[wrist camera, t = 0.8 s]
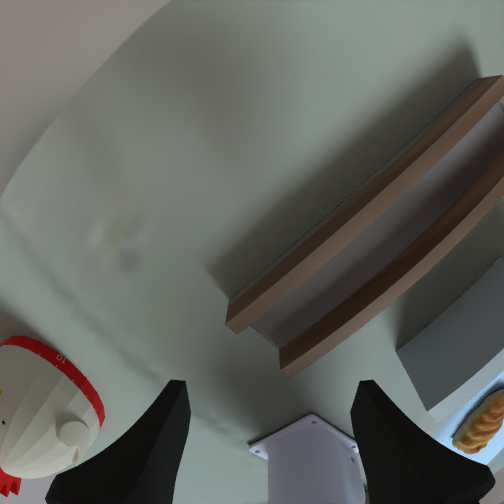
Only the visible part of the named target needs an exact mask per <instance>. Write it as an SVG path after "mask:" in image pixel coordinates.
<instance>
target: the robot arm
mask: <svg viewBox="0 0 504 504" xmlns="http://www.w3.org/2000/svg"><path fill="white" fill-rule="evenodd" d="M350 414H351V421H352V427H353V433H354V437H355V440H356V441H354V440H352V439H351V438H349V437H348V436H346V435H345V434H343V433H341V432H340V431H338V430H337V429H335V428H334V427H332V426H331V425H329V424H328V423H326V422H325V421H323V420H322V419H320V418H319V417H317V416H316V415H314V414H309V415H307V416H306V417H304V418H302V419H300V420H298V421H297V422H295V423H293V424H291V425H289V426H287V427H286V428H284V429H282V430H280V431H278V432H276V433H274V434H272V435H270V436H268V437H266V438H264V439H262V440H260V441H258V442H256V443H254V444H252V445H250V446H249V451H251V452H253V453H255V454H256V455H258V456H260V457H262V458H264V459H266V460H268V504H364V503H365V491H364V486H363V482H362V478H361V473H360V469H359V465H358V461H357V457H356V453H358V452H359V454H360V457H361V460H362V464H363V467H364V471H365V475H366V479H367V485H368V492H369V500H370V504H480V503H479V500H480V499H481V498H483V497H484V496H485V495H486V494H487V493H488V492H489V491H490V490H491V489H492V488H493V486H494V485H495V479H494V477H493V474H492V472H491V470H490V468H489V467H488V466H487V465H484V464H481V463H478V462H476V461H473V460H470V459H468V458H466V457H464V456H462V455H460V454H458V453H456V452H454V451H452V450H450V449H449V448H447V447H445V446H444V445H442V444H440V443H439V442H437V441H436V440H435V439H433V438H432V437H431V436H429V435H428V434H427V433H425V432H424V431H423V430H421V429H420V428H419V427H418V426H417V425H416V424H415V423H413V422H412V421H411V420H410V419H409V418H408V417H407V416H406V415H405V414H404V413H403V412H402V411H401V410H400V409H399V408H398V407H397V406H396V405H395V403H394V402H393V401H392V400H391V399H390V398H389V397H388V396H387V395H386V394H385V392H384V391H383V390H382V389H381V388H380V387H379V386H378V384H377V383H376V382H375V381H374V380H365V381H360V382H359V386H358V389H357V392H356V396H355V399H354V402H353V405H352V408H351V411H350ZM190 417H191V410H190V404H189V398H188V393H187V387H186V381H180V380H170V381H169V382H168V384H167V385H166V386H165V388H164V389H163V391H162V392H161V393H160V395H159V396H158V397H157V398H156V400H155V401H154V402H153V403H152V405H151V406H150V407H149V408H148V409H147V411H146V412H145V413H144V414H143V415H142V416H141V417H140V418H139V419H138V420H137V421H136V422H135V424H134V425H133V426H132V427H131V428H130V429H129V430H127V431H126V432H125V433H124V434H123V435H122V436H121V437H120V438H119V439H117V440H116V441H115V442H114V443H112V444H111V445H110V446H108V447H107V448H106V449H104V450H103V451H101V452H100V453H99V454H97V455H95V456H94V457H92V458H90V459H89V460H87V461H85V462H83V463H82V464H80V465H78V466H76V467H74V468H72V469H69V470H67V471H65V472H63V473H60V474H58V475H56V477H55V479H54V480H53V482H52V484H51V486H50V488H49V491H48V493H47V495H46V498H45V500H46V502H47V504H172V502H173V494H174V487H175V481H176V476H177V472H178V469H179V465H180V461H181V458H182V454H183V450H184V447H185V443H186V439H187V436H188V431H189V424H190ZM499 504H504V501H503V502H501V503H499Z"/></svg>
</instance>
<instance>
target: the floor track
mask: <svg viewBox="0 0 504 504" xmlns="http://www.w3.org/2000/svg"><path fill="white" fill-rule="evenodd" d="M503 95H504V76H503V75H499V76H491V77H484V78H478V79H476V80H475V81H474V82H473V83H472V84H471V85H470V86H469V87H468V88H467V89H466V90H465V91H464V92H463V93H462V94H461V95H459V96H458V97H457V98H456V99H455V100H454V101H453V102H452V103H451V104H450V105H449V106H448V107H447V108H446V109H445V110H444V111H442V112H441V113H440V114H439V115H438V116H437V117H436V118H435V119H434V120H433V121H432V122H431V123H430V124H428V125H427V126H426V127H425V128H424V129H423V130H422V131H421V132H420V133H419V134H418V135H417V136H415V137H414V138H413V139H412V140H411V141H410V142H409V143H408V144H407V145H406V146H405V147H403V148H402V149H401V150H400V151H399V152H398V153H397V154H396V155H395V156H394V157H392V158H391V159H390V160H389V161H388V162H387V163H386V164H385V165H384V166H382V167H381V168H380V169H379V170H378V171H377V172H376V173H375V174H374V175H372V176H371V177H370V178H369V179H368V180H367V181H366V182H365V183H364V184H362V185H361V186H360V187H359V188H358V189H357V190H356V191H355V192H353V193H352V194H351V195H350V196H349V197H348V198H347V199H346V200H344V201H343V202H342V203H341V204H340V205H339V206H338V207H337V208H335V209H334V210H333V211H332V212H331V213H330V214H329V215H327V216H326V217H325V218H324V219H323V220H322V221H321V222H319V223H318V224H317V225H316V226H315V227H314V228H313V229H311V230H310V231H309V232H308V233H307V234H306V235H305V236H303V237H302V238H301V239H300V240H299V241H298V242H297V243H295V244H294V245H293V246H292V247H291V248H290V249H288V250H287V251H286V252H285V253H284V254H283V255H281V256H280V257H279V258H278V259H277V260H276V261H275V262H273V263H272V264H271V265H270V266H269V267H268V268H266V269H265V270H264V271H263V272H262V273H261V274H259V275H258V276H257V277H256V278H255V279H253V280H252V281H251V282H250V283H249V284H248V285H246V286H245V287H244V288H243V289H242V290H241V291H239V292H238V293H237V294H236V295H235V296H233V297H232V298H231V299H230V300H229V304H228V310H227V316H226V322H225V325H226V326H227V327H228V328H230V329H231V330H232V331H233V332H234V333H236V334H239V333H240V332H241V331H242V330H244V329H245V328H246V327H248V326H249V325H250V326H251V327H253V328H254V329H255V330H256V331H257V332H258V333H260V334H261V335H262V336H263V337H264V338H265V339H267V340H268V341H269V342H270V343H271V344H272V345H274V346H275V347H276V348H277V349H278V350H279V357H280V370H281V371H282V372H283V373H285V374H286V375H287V376H289V377H290V378H291V377H292V376H294V375H295V374H297V373H298V372H300V371H301V370H303V369H304V368H306V367H307V366H309V365H310V364H312V363H313V362H315V361H316V360H317V359H319V358H320V357H322V356H323V355H325V354H326V353H327V352H329V351H330V350H332V349H333V348H334V347H336V346H337V345H338V344H340V343H341V342H343V341H344V340H345V339H347V338H348V337H349V336H351V335H352V334H353V333H355V332H356V331H357V330H359V329H360V328H361V327H362V326H364V325H365V324H366V323H368V322H369V321H370V320H371V319H373V318H374V317H375V316H376V315H378V314H379V313H380V312H381V311H383V310H384V309H385V308H386V307H387V306H389V305H390V304H391V303H392V302H394V301H395V300H396V299H397V298H398V297H399V296H401V295H402V294H403V293H404V292H405V291H407V290H408V289H409V288H410V287H411V286H412V285H413V284H415V283H416V282H417V281H418V280H419V279H420V278H421V277H422V276H424V275H425V274H426V273H427V272H428V271H429V270H430V269H431V268H432V267H433V266H435V265H436V264H437V263H438V262H439V261H440V260H441V259H442V258H443V257H444V256H445V255H446V254H447V253H448V252H449V251H450V250H451V249H452V248H453V247H454V246H455V245H456V244H457V243H459V242H460V241H461V240H462V239H463V238H464V237H465V235H466V234H467V233H468V232H469V231H470V230H471V229H472V228H473V227H474V226H475V225H476V224H477V223H478V222H479V221H480V220H481V219H482V218H483V217H484V216H485V215H486V214H487V212H488V211H489V210H490V209H491V208H492V207H493V206H494V205H495V204H496V202H497V201H498V200H499V199H500V198H501V197H502V196H503V195H504V113H503V111H502V109H501V107H500V105H499V103H498V101H499V100H500V99H501V98H502V97H503Z"/></svg>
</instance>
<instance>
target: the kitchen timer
mask: <svg viewBox="0 0 504 504" xmlns="http://www.w3.org/2000/svg"><path fill="white" fill-rule="evenodd" d="M104 419H105V413H104V406H103V404H102V402H101V400H100V397H99V395H98V393H97V392H96V390H95V389H94V388H93V386H92V385H91V384H90V382H89V381H88V380H87V378H86V377H85V376H84V375H83V374H82V373H81V372H80V371H79V370H78V369H77V368H76V367H75V366H74V365H73V364H72V363H71V362H69V361H68V360H67V359H66V358H64V357H63V356H62V355H60V354H59V353H58V352H57V351H55V350H54V349H52V348H50V347H48V346H47V345H45V344H43V343H41V342H40V341H37V340H34V339H31V338H28V337H25V336H12V337H10V338H9V339H7V340H5V341H4V342H3V343H2V344H1V345H0V493H1V494H2V495H4V496H6V497H8V494H9V491H11V492H12V493H14V494H16V495H18V493H19V489H20V483H21V478H40V477H45V476H48V475H51V474H53V473H56V472H58V471H60V470H62V469H64V468H66V467H67V466H69V465H70V464H71V463H74V464H75V465H76V466H78V465H79V463H80V462H81V460H82V458H83V457H84V455H85V453H86V451H87V449H88V447H89V446H90V445H91V444H92V443H93V441H94V440H95V438H96V437H97V435H98V432H99V430H100V428H101V426H102V423H103V421H104Z"/></svg>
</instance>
